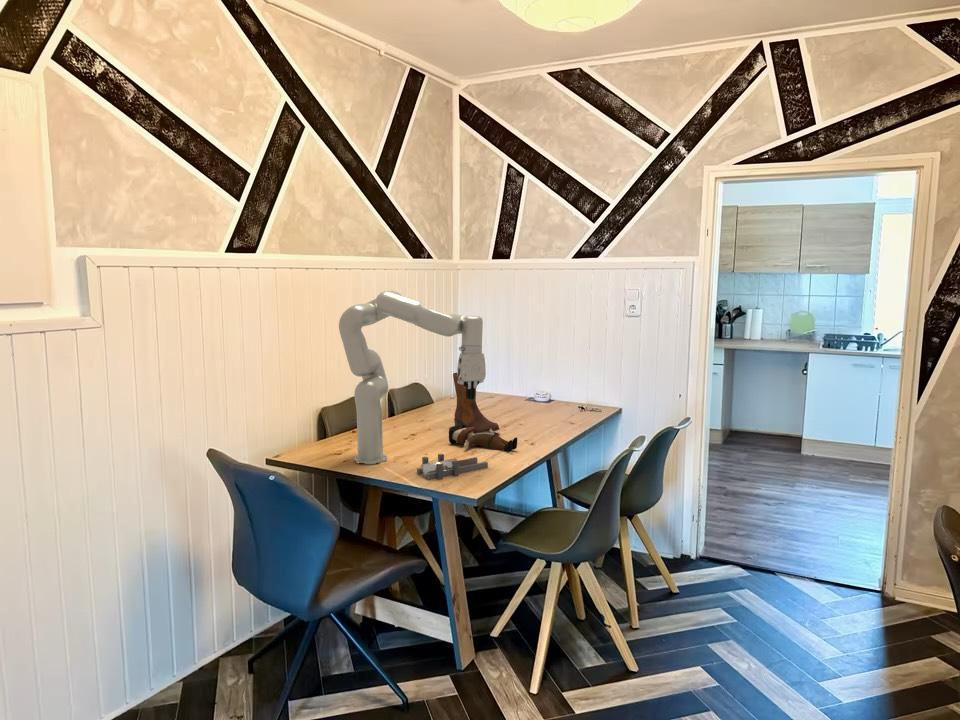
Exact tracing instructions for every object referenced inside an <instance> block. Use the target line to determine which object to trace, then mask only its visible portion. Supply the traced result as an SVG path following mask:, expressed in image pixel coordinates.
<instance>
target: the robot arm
mask: <svg viewBox="0 0 960 720" xmlns="http://www.w3.org/2000/svg"><path fill="white" fill-rule="evenodd" d="M388 317H392V318H394V319H398V320H401V321H404V322H407V323H410V324H412V325H414V326H417V327H419V328H421V329H424V330H425V331H429V332H431V333H433V334H437V335H440V336H444V337H452V336H456V335H461V346H459V347H458V351H459V352H460V353H459V355H458V361H457V370H456V373H457V378H458V382H457V383H458V384H462V385H464V386H465V388H466V398H467V399H470V400H472V399H474V396H475V389H476V390H477V386H478V385H479V384H481V383H484V382H485V381H484V380H486V374H487V372H486V368H487V367H486V358H485V354H484V353H483V331H484V330H483V328H484V324H483V323H484V322H483V321H484V320H483V318H482V317H481V316H480V315H479V316H478V315H462V314H454V313H451V314H448V315H447V314H444V313H441V312H439V311H435V310H432V309H430V308H428V307H426V306H425V304H423V302H421V301H418V300H416V299H412V298H409V297H406V296H403V295H402V294H401V293H400V292H398V291H395V290H386V291H382V292H380V293H378V295H377V296H376V297H375V298H374V299H372V300H370V301H368V302H366V303H357V304H354V305H351V306H349V307H348V308H346V309H345V310H344V312H342V314H341V316H340V317H339V322H338V331H339V334H340V339H341V341H342V344H343V345H342V346H343V347H344V352H345V356H346V359H347V360H346V361H347V362H348V366H349V370H350V371H351V373H352V374H353V375H354V376H356V377H361V378H362V380H361V381H360V382H359V383H358V384H357V385H356V387H355V389H354V392H353V394H354V396H353V397H354V403H355V407H356V408H355V409H356V427H357V428H356V431H357V455H355V456H354V458H353V461H354V460H355V461H356V462H359V463H365V464H364V465H377V464H376V463H378V464H382V463H384V462H386V461H387V460H388V456H387V455H386V454H385V453H384V439H383V438H384V437H383V411H382V406H381V399H383V398H385V396H387V394H388V391H389V383H388V379H387V375H386V372H385V368H384V364H383V362H382V359H381V356H380V355H379V354H378V352H377V351H375V350H373V349H370V348H369V347H368V345H367V344H368V343H367V341H366V340H367V339H366V337H365V335H364V333H363V330H362V328H363V327H367V326H372V325H374V324H376V323H378V322H380V321H382V320H384V319H387V318H388ZM355 461H354V462H355ZM356 462H355V463H356ZM381 462H382V463H381ZM359 463H358V464H359Z"/></svg>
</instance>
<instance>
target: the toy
mask: <svg viewBox="0 0 960 720" xmlns="http://www.w3.org/2000/svg"><path fill="white" fill-rule="evenodd" d="M475 431H476V428H475V427H468V428H461V429H460V427H459V426H458V425H457V426H455V425H453V426H451V427H449V428H448V441H449V443H450V444H451V445H455V444H457V443H459V444H464V445H463V448H469V447H472V446H475V445H476V446H479V447H482V448H483V449H488V450H498V451H503V452H504V453H510V452H512V450H516V449H517V447H518V437H517V436H516V437H514V438H513V439H510V440H505V439H504V438H502V437H501V436H500V435H499V434H498V433H495V431H492V429H490V431H486V432H480V433H476V434H475ZM454 443H455V444H454Z"/></svg>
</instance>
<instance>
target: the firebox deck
mask: <svg viewBox="0 0 960 720" xmlns="http://www.w3.org/2000/svg"><path fill="white" fill-rule="evenodd" d="M421 460H422V461H421V465H422V464H427V463H429V457H428V456H422V458H421ZM457 460H458V459H457ZM457 460H454V461H452V469H447V470H443V464H441V463H439V464H436V472H432V473H427V474H426V477H423V476H422V474H421V467H418V468H416V471H415V472H414V474H416V475H418V476H420V477H422V479H425V480H427V481H429V482H431V483H432V482H436V481H441V480H447V479H450V478H455V477H459V476H460V477H461V476H465V475H470V474H475V473H479V472H484V471H488V470H491V468H489V462H488V461H482V462H478V457H477V456H475V457H469V458H463V459H460V460H458V461H457ZM438 461H445V454H443V453H438V454H437V462H438Z"/></svg>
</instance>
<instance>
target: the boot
mask: <svg viewBox="0 0 960 720" xmlns="http://www.w3.org/2000/svg"><path fill="white" fill-rule="evenodd" d="M452 377H453V384H454V389H455V394H456V396H455V397H456V406H455V411H454V419H453V420H454V426H457V425H458V426H459V427H460V429H461V428H468V427H475V428H476V431H475V434H476V433H480V432H486V431H490V429H492V431H494V432H497V431H500V429H501V428H500V426H499V424H498V423H497V422H493V421H491V420H489V419H488V418H487V417H486V416H485V415H483V413H482V412H481V411H480V409H479V407H478V405H477V401H476V400H477V388H476V389H475V396H474V399H472V400H470V399H467V398H466V388H465V386H464V385H462V384H458V383H457V382H458V378H457V372H454V373H453V374H452Z"/></svg>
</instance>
